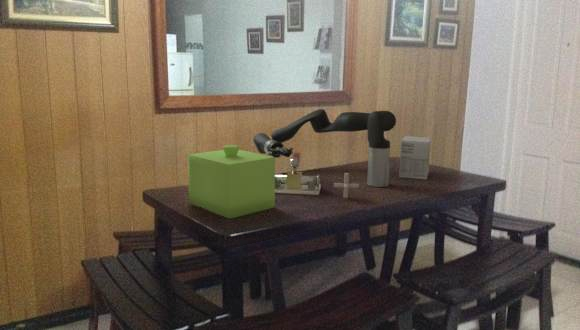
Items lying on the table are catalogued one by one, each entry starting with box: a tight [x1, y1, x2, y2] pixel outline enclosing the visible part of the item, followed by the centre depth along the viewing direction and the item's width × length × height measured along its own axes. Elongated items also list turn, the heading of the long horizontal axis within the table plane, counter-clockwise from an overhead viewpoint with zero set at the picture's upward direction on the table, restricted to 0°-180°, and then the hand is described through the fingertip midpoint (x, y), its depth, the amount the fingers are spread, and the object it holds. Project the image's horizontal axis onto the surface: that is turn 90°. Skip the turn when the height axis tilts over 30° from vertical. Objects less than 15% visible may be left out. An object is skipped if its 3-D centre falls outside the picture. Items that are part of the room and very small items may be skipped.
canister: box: [187, 144, 276, 220], centre depth 189 cm, size 25×21×23 cm
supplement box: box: [398, 135, 432, 181], centre depth 247 cm, size 17×13×18 cm
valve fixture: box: [275, 167, 322, 196], centre depth 215 cm, size 22×12×10 cm, turn 83°
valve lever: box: [289, 152, 302, 168], centre depth 219 cm, size 15×4×4 cm, turn 173°
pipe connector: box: [333, 172, 360, 199], centre depth 205 cm, size 10×10×10 cm
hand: (288, 154), depth 229 cm, fingers closed
